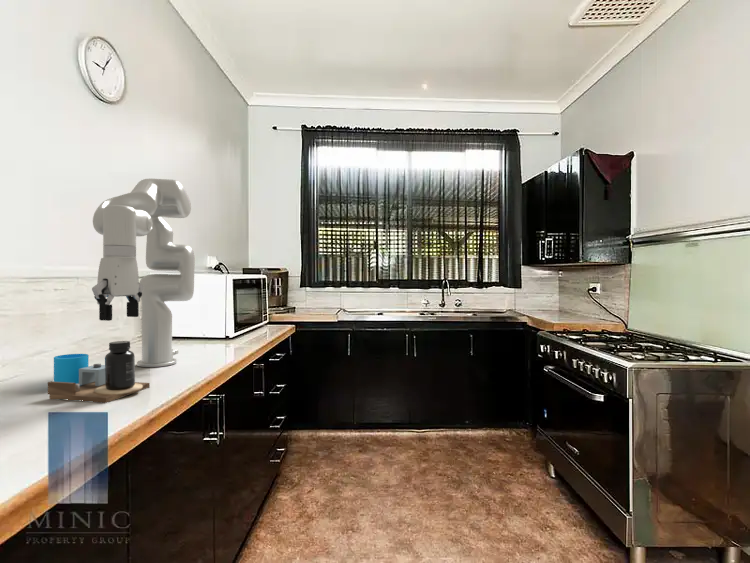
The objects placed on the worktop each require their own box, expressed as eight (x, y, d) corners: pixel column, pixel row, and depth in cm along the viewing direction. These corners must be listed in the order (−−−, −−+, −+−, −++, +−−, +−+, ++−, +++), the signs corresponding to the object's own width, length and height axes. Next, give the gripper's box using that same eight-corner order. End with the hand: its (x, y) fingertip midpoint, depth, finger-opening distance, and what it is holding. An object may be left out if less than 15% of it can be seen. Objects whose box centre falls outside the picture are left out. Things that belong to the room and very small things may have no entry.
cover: (96, 379, 127) (96, 361, 127) (115, 380, 126) (115, 362, 126) (78, 384, 121) (78, 365, 121) (98, 385, 120) (98, 366, 120)
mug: (81, 387, 125) (81, 358, 124) (47, 389, 123) (48, 359, 123) (97, 378, 136) (97, 351, 136) (67, 379, 134) (67, 351, 134)
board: (97, 384, 128) (97, 369, 128) (157, 387, 125) (157, 372, 125) (47, 399, 112) (47, 382, 112) (115, 403, 109) (115, 386, 109)
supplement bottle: (130, 383, 123) (130, 339, 123) (138, 387, 118) (138, 342, 118) (101, 387, 118) (101, 341, 118) (109, 392, 114) (109, 344, 113)
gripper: (130, 254, 127) (130, 315, 127) (80, 251, 110) (80, 321, 110) (154, 254, 126) (154, 315, 126) (107, 251, 109) (107, 322, 109)
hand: (119, 318), depth 118 cm, fingers open, 9 cm apart
